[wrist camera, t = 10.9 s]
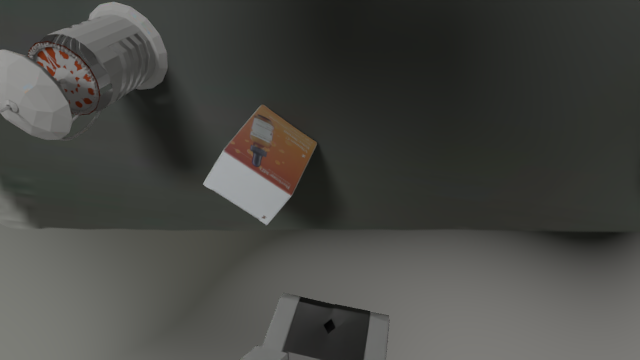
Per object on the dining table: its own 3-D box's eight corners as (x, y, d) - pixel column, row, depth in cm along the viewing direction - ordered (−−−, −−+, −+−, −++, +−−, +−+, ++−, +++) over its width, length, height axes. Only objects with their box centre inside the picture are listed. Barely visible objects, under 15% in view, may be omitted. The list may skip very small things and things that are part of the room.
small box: (318, 142, 44) (294, 197, 36) (295, 171, 48) (267, 227, 39) (261, 101, 43) (222, 149, 35) (241, 134, 46) (200, 185, 38)
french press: (173, 28, 40) (-69, 150, 20) (160, 115, 47) (-29, 267, 28) (86, -16, 39) (-250, 67, 20) (86, 79, 47) (-161, 209, 27)
